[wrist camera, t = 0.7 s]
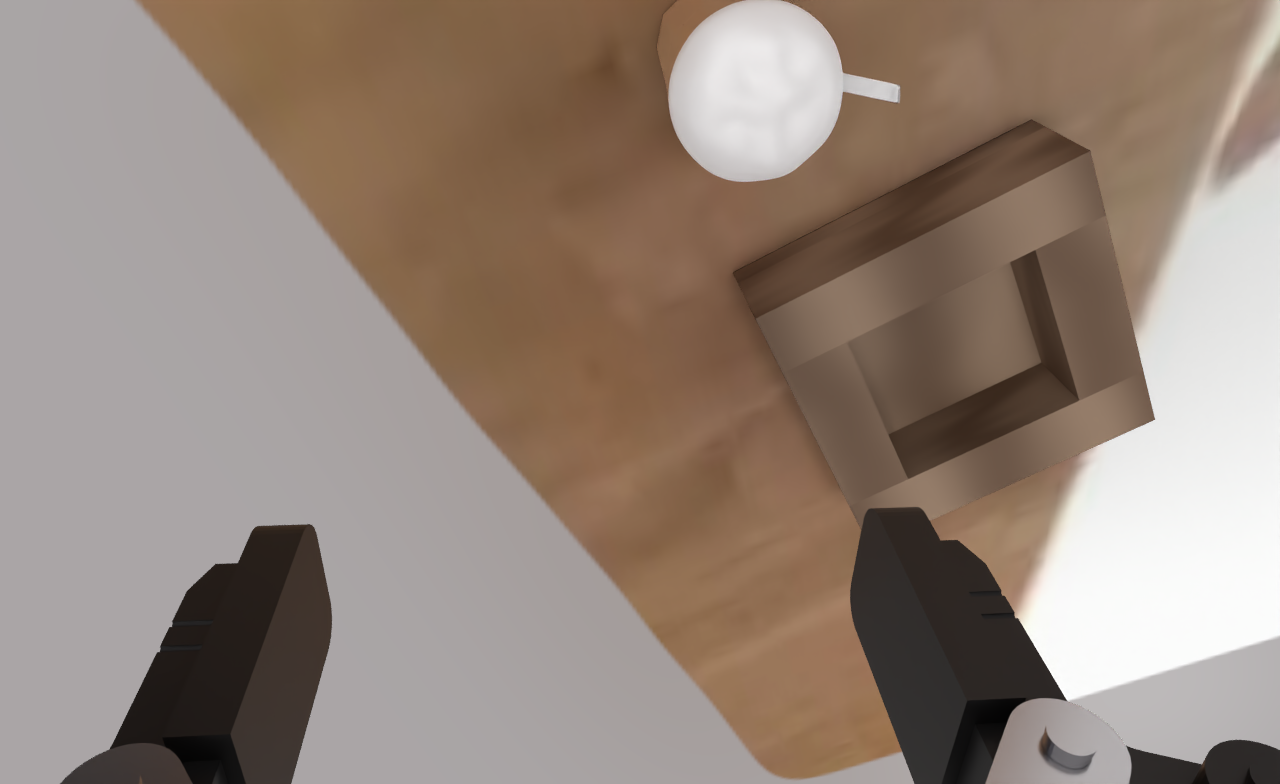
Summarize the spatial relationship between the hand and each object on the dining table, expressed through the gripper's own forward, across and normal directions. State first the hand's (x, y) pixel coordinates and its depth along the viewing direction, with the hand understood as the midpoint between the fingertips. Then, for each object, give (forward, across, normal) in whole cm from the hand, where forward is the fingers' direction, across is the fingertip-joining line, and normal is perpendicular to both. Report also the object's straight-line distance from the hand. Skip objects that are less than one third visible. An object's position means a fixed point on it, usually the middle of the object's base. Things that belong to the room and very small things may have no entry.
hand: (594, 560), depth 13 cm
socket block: (+22, -14, +7) cm, 27 cm away
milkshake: (+22, -5, -4) cm, 23 cm away
